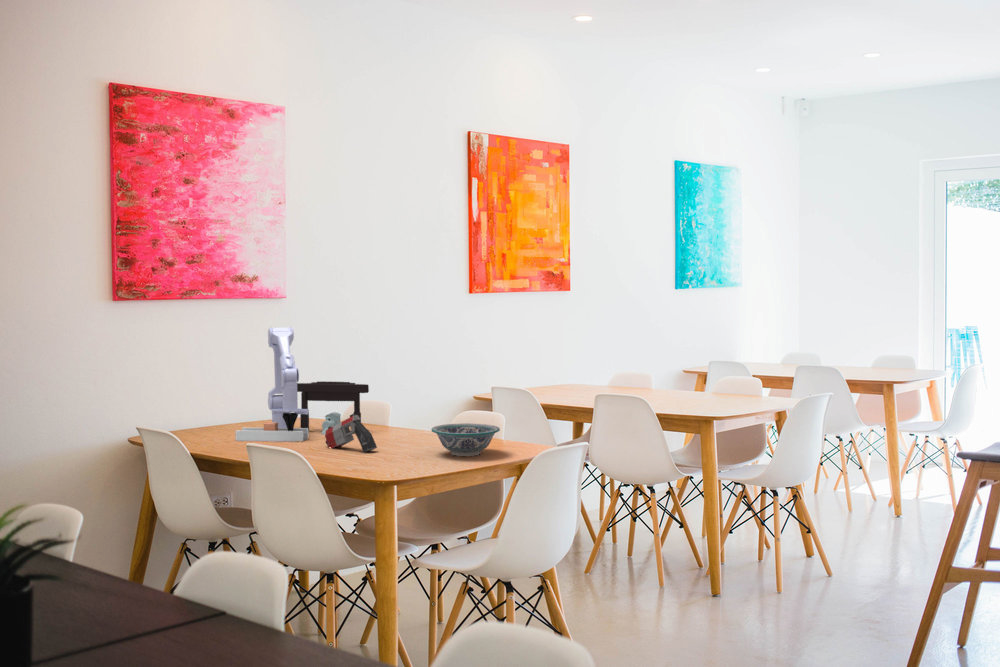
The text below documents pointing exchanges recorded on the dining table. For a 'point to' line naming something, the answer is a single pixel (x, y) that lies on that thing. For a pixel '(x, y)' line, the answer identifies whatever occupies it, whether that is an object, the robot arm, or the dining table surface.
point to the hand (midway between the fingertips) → (290, 432)
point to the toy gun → (349, 434)
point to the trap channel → (271, 434)
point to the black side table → (330, 398)
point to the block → (271, 426)
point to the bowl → (465, 437)
